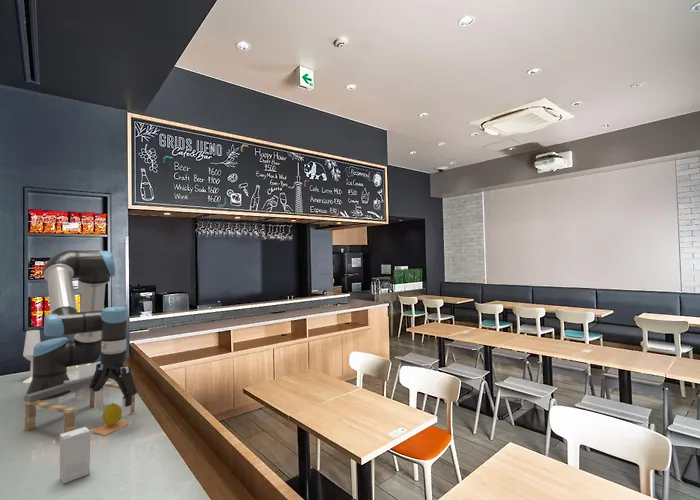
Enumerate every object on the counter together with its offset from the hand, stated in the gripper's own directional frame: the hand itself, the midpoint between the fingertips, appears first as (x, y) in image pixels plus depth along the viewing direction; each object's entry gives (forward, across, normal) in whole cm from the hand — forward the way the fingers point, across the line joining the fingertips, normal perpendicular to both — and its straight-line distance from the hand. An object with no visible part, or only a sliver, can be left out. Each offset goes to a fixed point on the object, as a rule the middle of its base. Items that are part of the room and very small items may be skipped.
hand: (112, 412), depth 128 cm
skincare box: (+5, +18, -24) cm, 31 cm away
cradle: (+5, -15, 0) cm, 16 cm away
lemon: (+5, 0, 0) cm, 5 cm away
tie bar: (-5, -24, 0) cm, 24 cm away
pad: (+5, 0, 0) cm, 5 cm away
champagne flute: (+7, -83, +21) cm, 85 cm away
